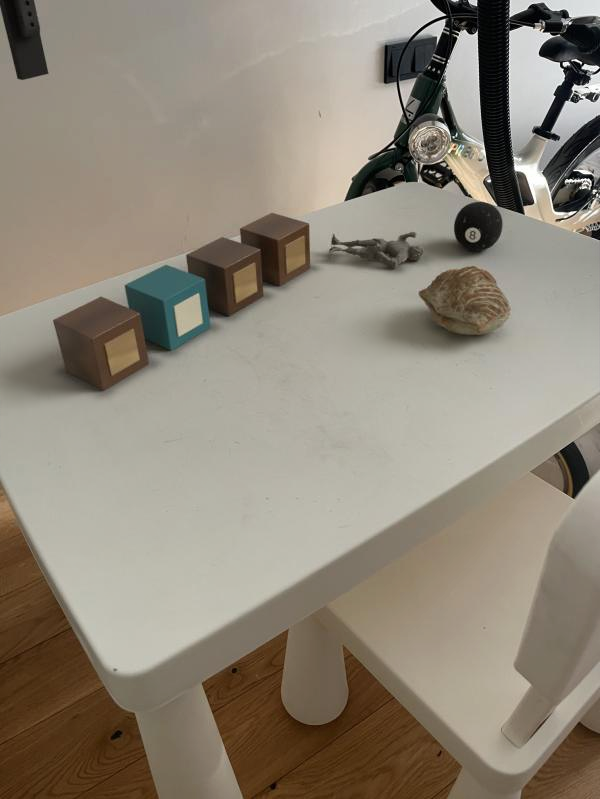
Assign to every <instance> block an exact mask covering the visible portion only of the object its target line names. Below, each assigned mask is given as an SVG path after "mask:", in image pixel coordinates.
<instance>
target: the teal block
mask: <svg viewBox="0 0 600 799" xmlns="http://www.w3.org/2000/svg"><path fill="white" fill-rule="evenodd" d="M124 290H125V295H126V300H127V301H126V302H127V306H128V307H127V308H129V309H131V310H134V311H136V312H138V313H140V316H141V322H142V327H143V333H144V338H145V341H146V340H147V341H149V342H151V343H153V344H154V345H157V346H160V347H162V348H164V349H167V350H168V351H171V352H172V351H173V350H175V349H177V348H178V347H180V346H182V345H183V344H185V343H187V342H189V341H190V340H192V339H193V338H195V337H197V336H199V335H200V334H202V333H204V332H205V331H207V330H209V329H210V328H211V321H210V314H209V313H210V312H209V308H208V303H207V295H206V286H205V279H204V278H201V277H198V276H196V275H193V274H190V273H188V271H185V270H182V269H179V268H176V267H173V266H171V265H168V264H164V265H163V266H160V267H158V268H156V269H154V270H152V271H150V272H148V273H145V274H144V275H142V276H140V277H138V278H136V279H134V280H132V281H130V282H128V283H126V284H124Z"/></svg>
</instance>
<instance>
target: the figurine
mask: <svg viewBox="0 0 600 799" xmlns="http://www.w3.org/2000/svg"><path fill="white" fill-rule="evenodd" d="M417 234H418V233H417V232H416V231H410V232H406V233H403V234H400V235H399V236H398V237H397V240H389V241H388V240H385V239H384V238H376V237H375V238H371V239H362V240H361V239H360V240H359V239H356V240H351V241H340V240H339V239H338V238H337V237H336V235H335V233H332V237H331V241H330V248H329V249H328V254H327V255H328V257H327V258H328V259H331V257H332V253H333V252H343V253H345V254H348V255H352V256H358V257H359V258H360V259H361V260H364V261H365V260H367V261H383V262H384V263H385V264H387V265H388V266H390V267H391V268H393V269H397V267H398V266H400V264H402V263H404V262H405V261H406V260H407V259H408V258H409V259H410V260H411V261H419V260H421V259H422V258H423V256H424V254H425V251H424V247H421V246H418V245H410V243H409V242H408V241H407V239H408V238H413V239H415V238H416V237H417ZM339 246H345V247H347V248H345V249H343V248H342V247H339ZM355 247H359V248H355Z"/></svg>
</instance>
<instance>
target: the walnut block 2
mask: <svg viewBox="0 0 600 799" xmlns="http://www.w3.org/2000/svg"><path fill="white" fill-rule="evenodd" d="M185 259H186V266H187V267H186V268H187V273H190V274H193V275H196V276H198V277H201V278H204V279H205V286H206V295H207V303H208V310H212V311H215V312H217V313H219V314H222V315H224V316H227V317H230V316H232V315H234V314H236V313H237V312H239V311H241V310H243V309H244V308H246V307H247V306H249V305H251V304H253V303H254V302H256V301H258V300H259V299H261V298H262V297H264V284H263V281H264V280H262V266H261V251H260V249H258V248H255V247H252V246H249V245H246V244H243V243H241V242H239V241H236V240H233V239H229V238H227V237H224V236H221V237H219V238H217V239H215V240H213V241H211V242H209V243H207V244H205V245H203V246H201V247H198V248H197V249H195V250H192V251H191V252H189V253H187V254H185Z"/></svg>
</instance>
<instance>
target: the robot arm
mask: <svg viewBox="0 0 600 799" xmlns="http://www.w3.org/2000/svg"><path fill="white" fill-rule="evenodd" d="M0 11H1V12H0V13H1V17H2V20H3V25H4V29H5V33H6V36H7V41H8V44H9V50H10V53H11V58H12V62H13V65H14V70H15V74H16V78H17V80H20V81H25V80H29V79H34V78H38V77H41V76H45V75H50V74H49V68H48V63H47V61H46V55H45V51H44V46H43V42H42V36H41V25H40V22H39V17H38V13H37V7H36V2H35V0H0Z"/></svg>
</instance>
